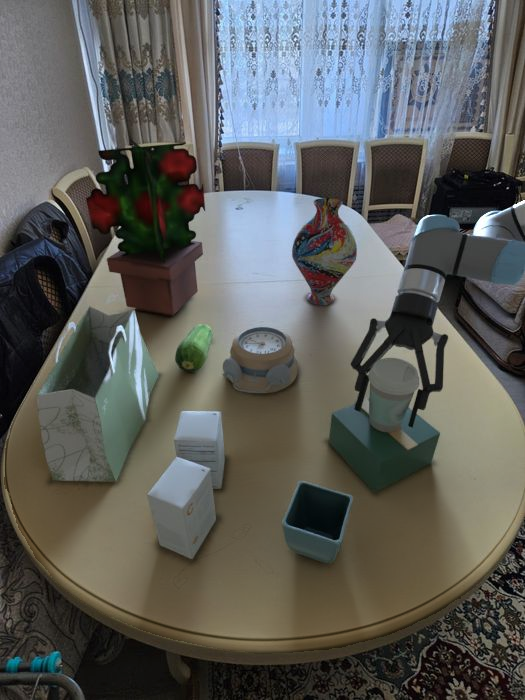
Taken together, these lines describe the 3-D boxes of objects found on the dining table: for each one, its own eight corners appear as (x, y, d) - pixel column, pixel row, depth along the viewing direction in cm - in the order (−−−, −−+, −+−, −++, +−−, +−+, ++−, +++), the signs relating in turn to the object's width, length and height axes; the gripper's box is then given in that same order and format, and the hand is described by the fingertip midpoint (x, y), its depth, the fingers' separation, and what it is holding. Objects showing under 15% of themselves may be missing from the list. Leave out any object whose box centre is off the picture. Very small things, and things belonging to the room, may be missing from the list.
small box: (185, 506, 78) (176, 454, 71) (217, 519, 76) (211, 467, 68) (158, 546, 72) (145, 494, 64) (192, 561, 70) (183, 509, 62)
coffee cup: (385, 445, 78) (396, 392, 72) (352, 417, 84) (359, 366, 77) (418, 425, 82) (432, 374, 75) (384, 400, 88) (394, 350, 81)
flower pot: (297, 513, 77) (299, 479, 72) (348, 530, 74) (354, 495, 69) (280, 559, 70) (280, 524, 65) (335, 579, 67) (340, 544, 62)
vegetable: (176, 347, 103) (200, 306, 120) (166, 368, 107) (190, 326, 124) (205, 361, 104) (224, 319, 121) (194, 382, 108) (214, 338, 125)
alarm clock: (303, 324, 110) (288, 382, 91) (301, 355, 115) (287, 415, 97) (236, 317, 113) (208, 372, 94) (237, 347, 118) (211, 405, 100)
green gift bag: (123, 482, 82) (95, 383, 69) (49, 480, 83) (7, 382, 70) (161, 375, 109) (146, 289, 95) (104, 374, 109) (82, 288, 96)
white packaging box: (187, 458, 87) (180, 409, 80) (225, 459, 87) (222, 410, 80) (180, 489, 81) (172, 439, 74) (221, 490, 81) (217, 440, 73)
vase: (293, 314, 132) (297, 213, 115) (288, 285, 148) (290, 193, 131) (356, 313, 133) (369, 212, 116) (345, 284, 148) (355, 192, 131)
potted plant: (151, 284, 150) (127, 137, 124) (211, 293, 144) (199, 141, 118) (112, 315, 133) (75, 152, 107) (179, 328, 126) (156, 158, 101)
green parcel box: (432, 463, 85) (441, 432, 81) (375, 493, 80) (382, 462, 75) (381, 418, 96) (387, 388, 91) (327, 441, 90) (331, 411, 86)
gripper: (477, 317, 81) (445, 438, 78) (361, 294, 89) (328, 403, 86) (483, 304, 74) (448, 436, 71) (357, 280, 82) (321, 398, 79)
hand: (383, 418), depth 79 cm, fingers open, 9 cm apart
